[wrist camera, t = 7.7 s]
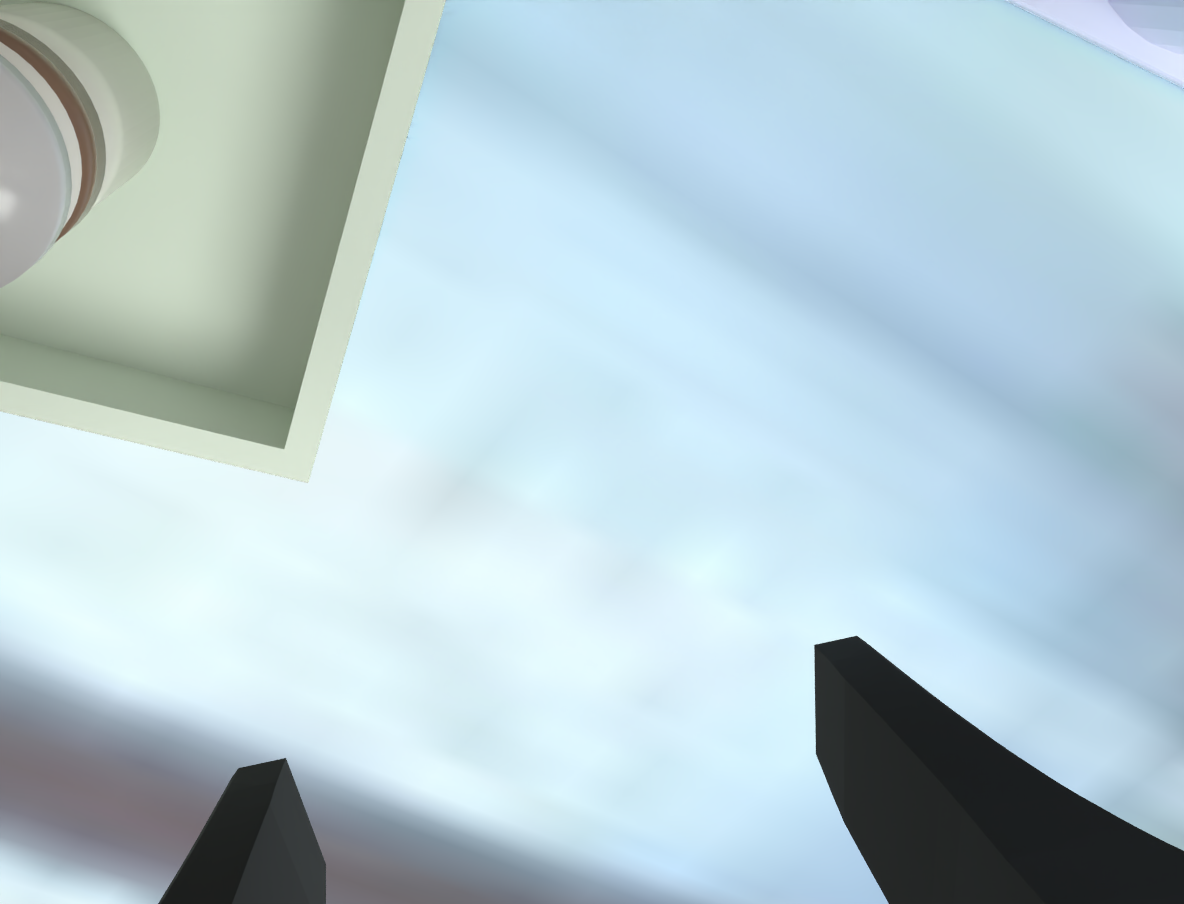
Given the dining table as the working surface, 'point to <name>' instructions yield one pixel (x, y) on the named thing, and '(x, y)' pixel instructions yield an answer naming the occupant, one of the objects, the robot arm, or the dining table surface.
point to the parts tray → (226, 231)
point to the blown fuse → (65, 124)
